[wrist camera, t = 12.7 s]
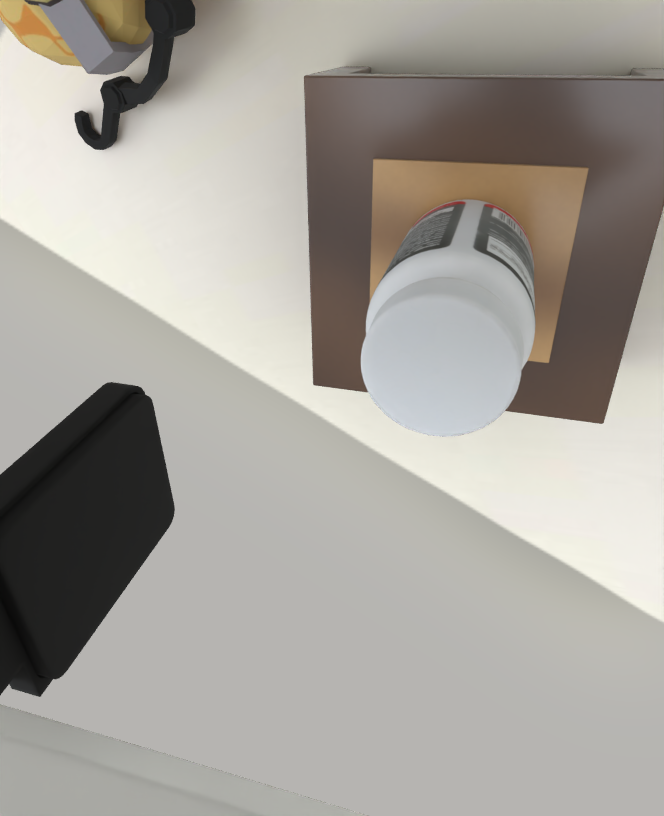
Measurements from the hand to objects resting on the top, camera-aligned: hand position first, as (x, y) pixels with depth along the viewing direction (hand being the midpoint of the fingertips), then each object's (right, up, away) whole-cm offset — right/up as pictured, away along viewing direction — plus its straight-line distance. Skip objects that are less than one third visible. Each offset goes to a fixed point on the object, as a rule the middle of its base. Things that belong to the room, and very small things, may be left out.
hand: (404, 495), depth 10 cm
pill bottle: (+4, +7, +12) cm, 14 cm away
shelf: (+5, +9, +16) cm, 19 cm away
